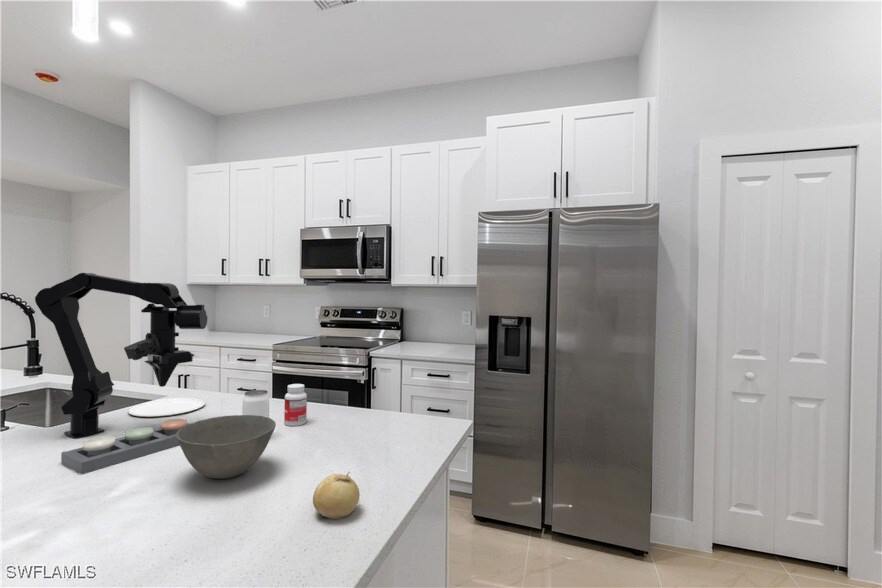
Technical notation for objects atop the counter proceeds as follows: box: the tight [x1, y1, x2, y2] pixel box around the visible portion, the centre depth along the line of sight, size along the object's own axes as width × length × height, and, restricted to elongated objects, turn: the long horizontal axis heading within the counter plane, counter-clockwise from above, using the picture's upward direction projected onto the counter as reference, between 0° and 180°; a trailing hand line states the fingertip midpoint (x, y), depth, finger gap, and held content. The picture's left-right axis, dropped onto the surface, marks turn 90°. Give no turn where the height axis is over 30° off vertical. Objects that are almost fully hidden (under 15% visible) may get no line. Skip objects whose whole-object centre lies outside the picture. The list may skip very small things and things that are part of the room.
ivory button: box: [82, 436, 116, 458], centre depth 94 cm, size 6×6×4 cm
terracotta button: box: [160, 418, 188, 436], centre depth 108 cm, size 6×6×4 cm
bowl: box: [176, 414, 277, 480], centre depth 89 cm, size 19×19×10 cm
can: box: [241, 389, 270, 418], centre depth 111 cm, size 6×6×12 cm
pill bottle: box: [283, 383, 308, 427], centre depth 123 cm, size 6×6×11 cm
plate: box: [127, 397, 206, 418], centre depth 135 cm, size 21×21×1 cm
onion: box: [312, 471, 361, 519], centre depth 75 cm, size 8×8×7 cm
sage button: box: [124, 426, 154, 446], centre depth 101 cm, size 6×6×4 cm
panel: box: [60, 422, 190, 475], centre depth 101 cm, size 10×26×2 cm, turn 150°
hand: (162, 386), depth 115 cm, fingers closed
